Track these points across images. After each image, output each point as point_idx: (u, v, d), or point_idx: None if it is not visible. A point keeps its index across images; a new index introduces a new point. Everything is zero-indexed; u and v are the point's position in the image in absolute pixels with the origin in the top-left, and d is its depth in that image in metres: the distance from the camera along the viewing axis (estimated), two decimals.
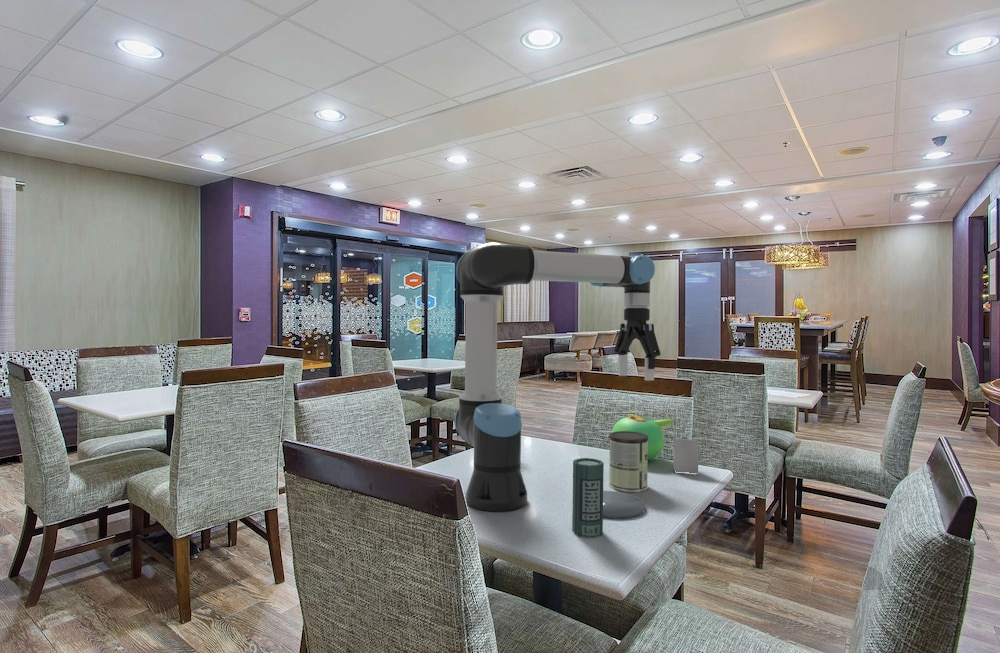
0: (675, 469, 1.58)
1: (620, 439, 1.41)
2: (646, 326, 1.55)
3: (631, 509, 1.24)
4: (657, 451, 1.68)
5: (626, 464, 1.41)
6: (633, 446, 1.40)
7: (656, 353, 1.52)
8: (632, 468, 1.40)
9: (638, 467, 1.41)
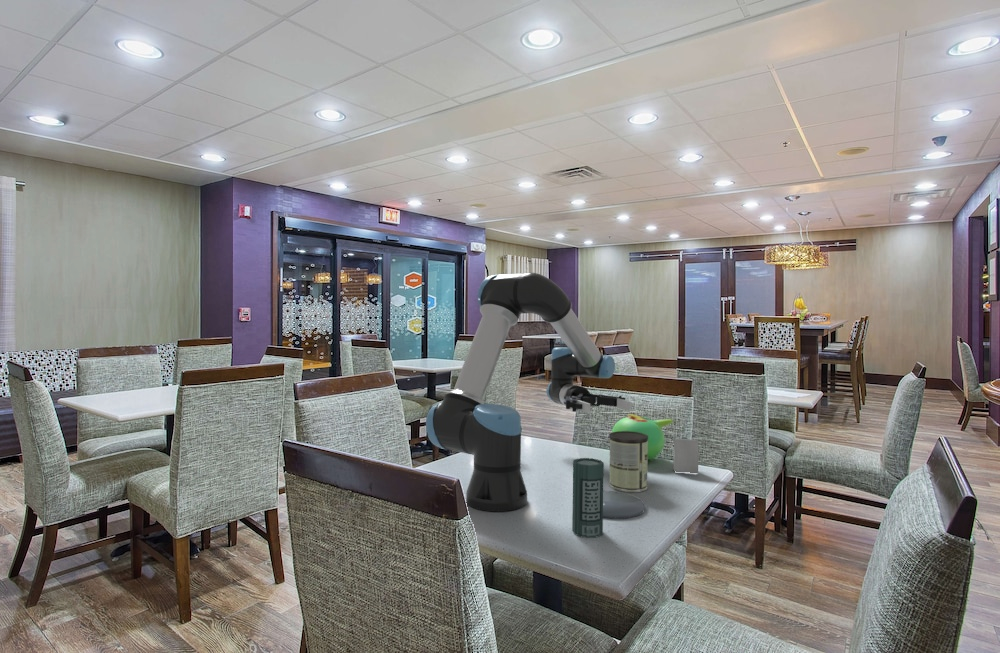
0: (675, 469, 1.58)
1: (620, 439, 1.41)
2: None
3: (631, 509, 1.24)
4: (657, 451, 1.68)
5: (626, 464, 1.41)
6: (633, 446, 1.40)
7: None
8: (632, 468, 1.40)
9: (638, 466, 1.41)
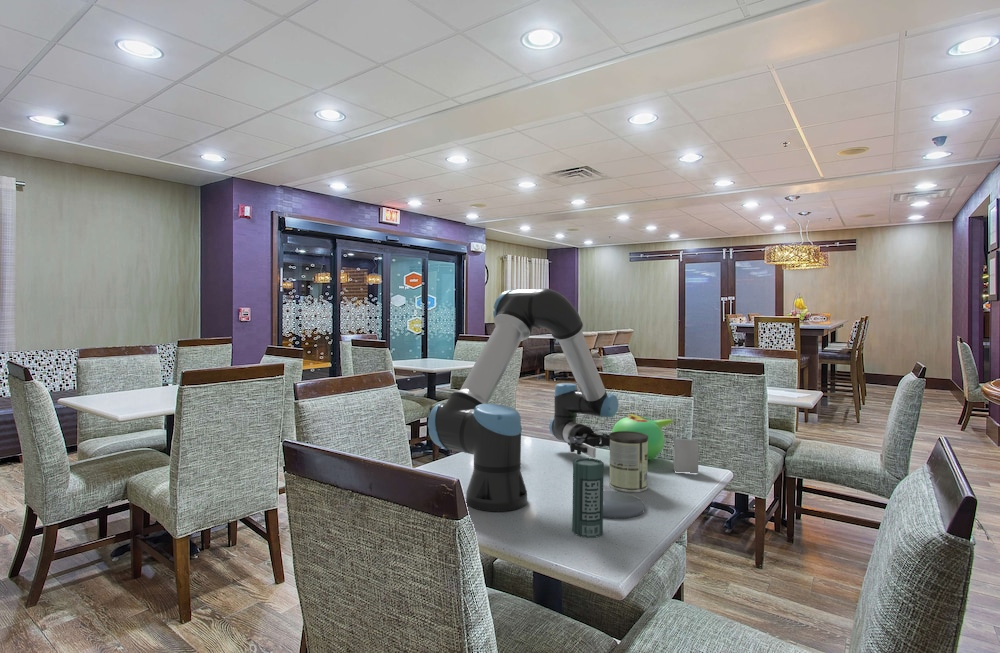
0: (675, 469, 1.58)
1: (620, 439, 1.41)
2: (606, 434, 1.69)
3: (631, 509, 1.24)
4: (657, 451, 1.68)
5: (626, 464, 1.41)
6: (633, 446, 1.40)
7: None
8: (632, 468, 1.40)
9: (638, 467, 1.41)
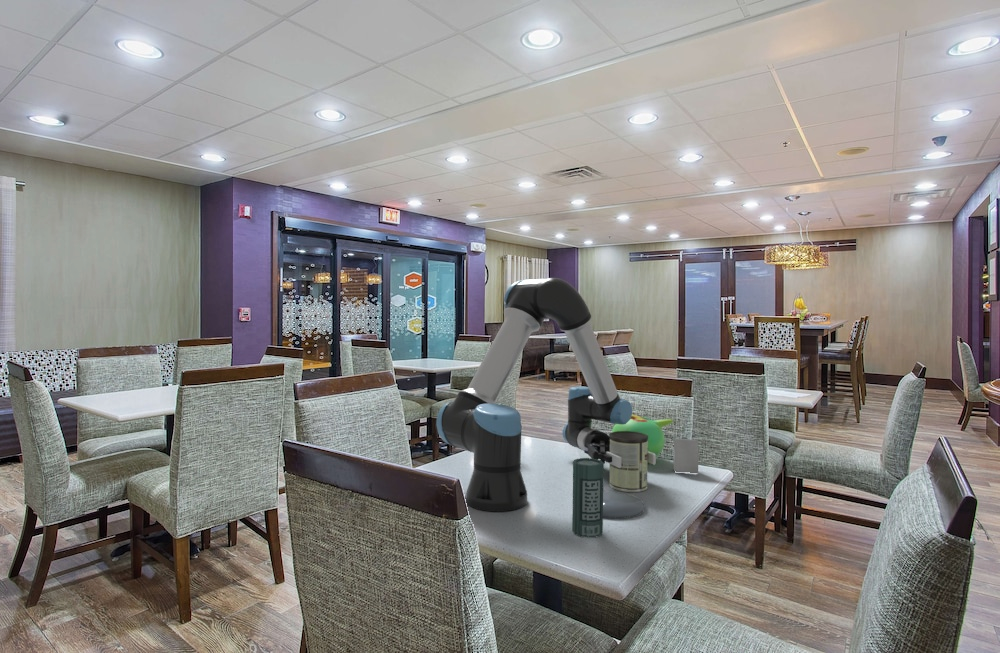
0: (675, 469, 1.58)
1: (620, 439, 1.41)
2: None
3: (631, 509, 1.24)
4: (657, 451, 1.68)
5: (626, 464, 1.41)
6: (633, 446, 1.40)
7: None
8: (632, 468, 1.40)
9: (638, 466, 1.41)
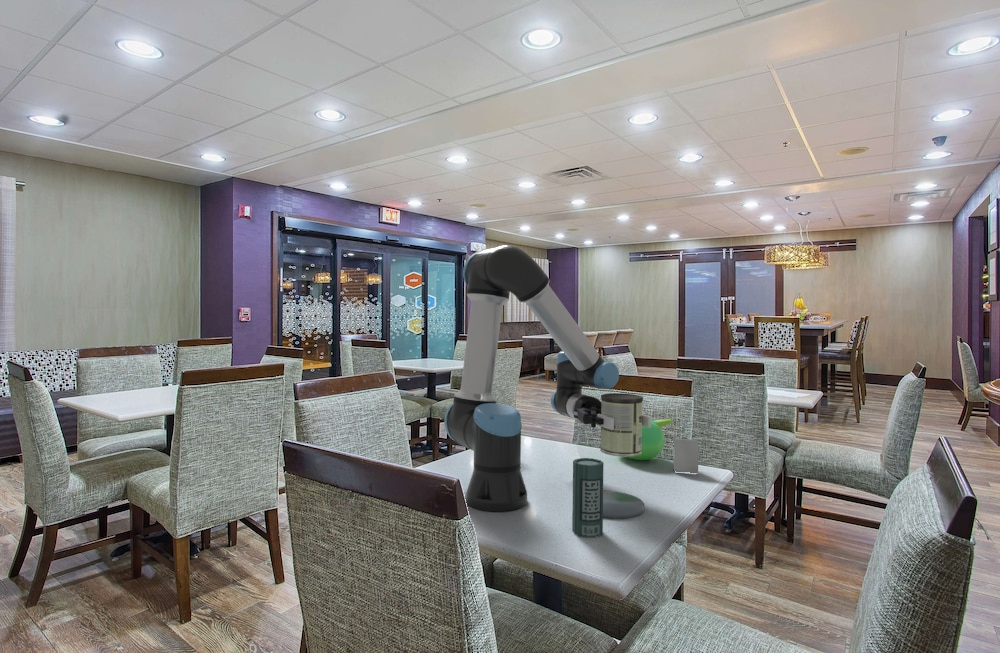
0: (675, 469, 1.58)
1: (613, 399, 1.30)
2: None
3: (631, 509, 1.24)
4: (657, 451, 1.68)
5: (619, 426, 1.29)
6: (627, 406, 1.29)
7: None
8: (625, 430, 1.29)
9: (631, 429, 1.29)
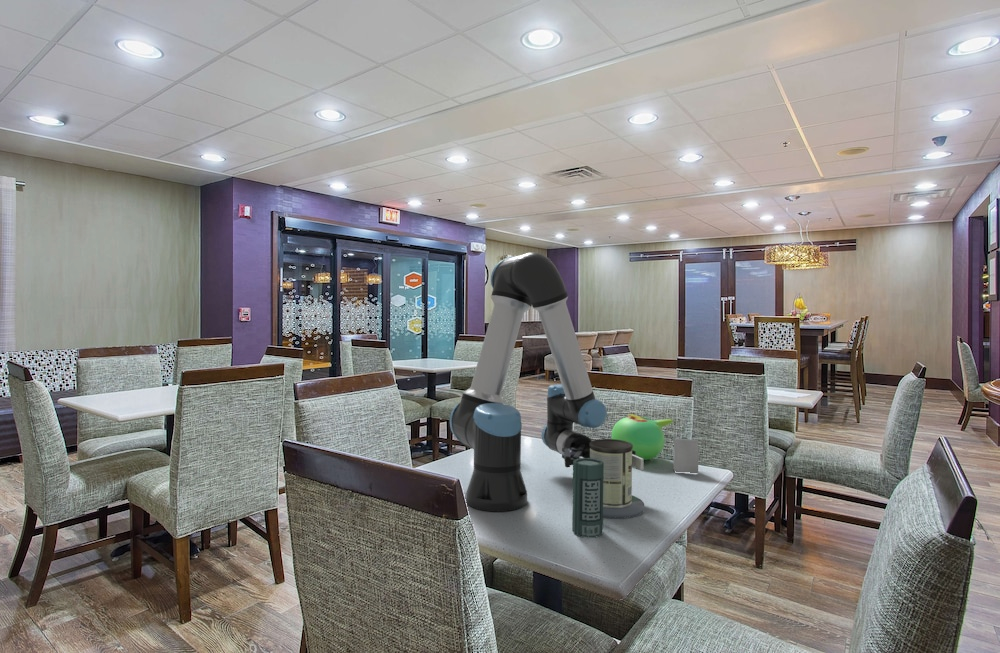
0: (675, 469, 1.58)
1: (601, 448, 1.26)
2: None
3: (631, 509, 1.24)
4: (657, 451, 1.68)
5: (607, 476, 1.25)
6: (615, 456, 1.25)
7: None
8: (614, 481, 1.25)
9: (620, 479, 1.25)
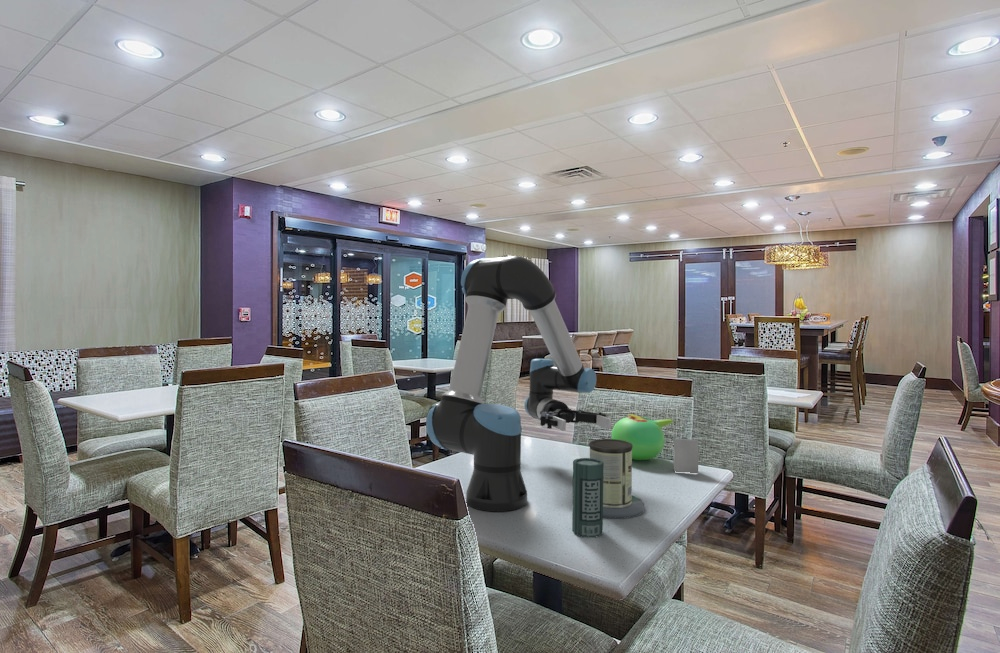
0: (675, 469, 1.58)
1: (600, 448, 1.26)
2: (581, 410, 1.59)
3: (631, 509, 1.24)
4: (657, 451, 1.68)
5: (607, 476, 1.25)
6: (615, 456, 1.25)
7: None
8: (614, 481, 1.25)
9: (620, 479, 1.25)
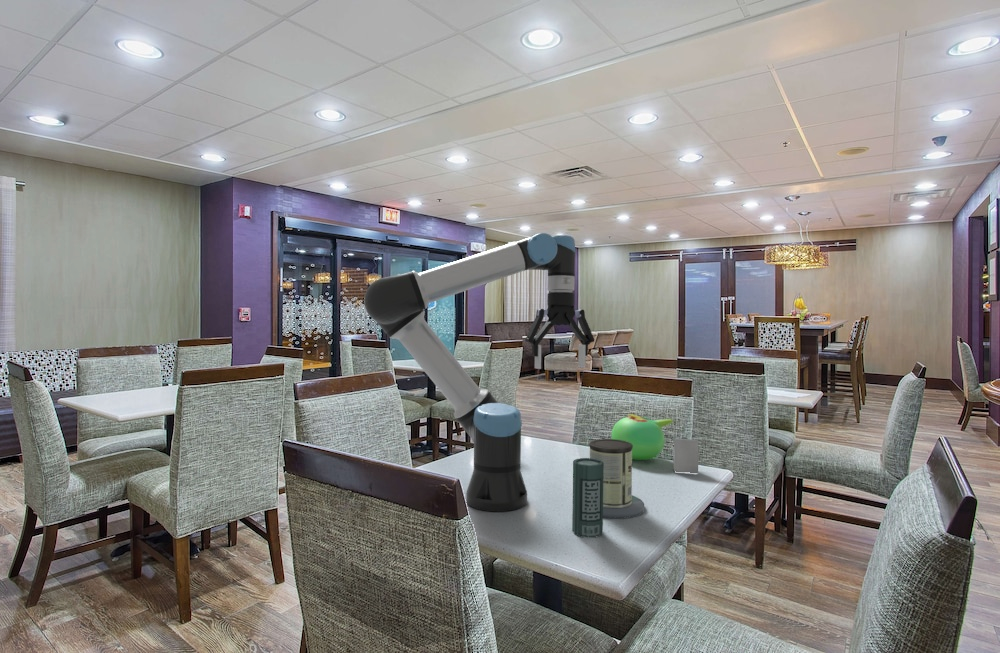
0: (675, 469, 1.58)
1: (600, 448, 1.26)
2: None
3: (631, 509, 1.24)
4: (657, 451, 1.68)
5: (607, 476, 1.25)
6: (615, 456, 1.25)
7: (527, 339, 1.46)
8: (614, 481, 1.25)
9: (620, 479, 1.25)
